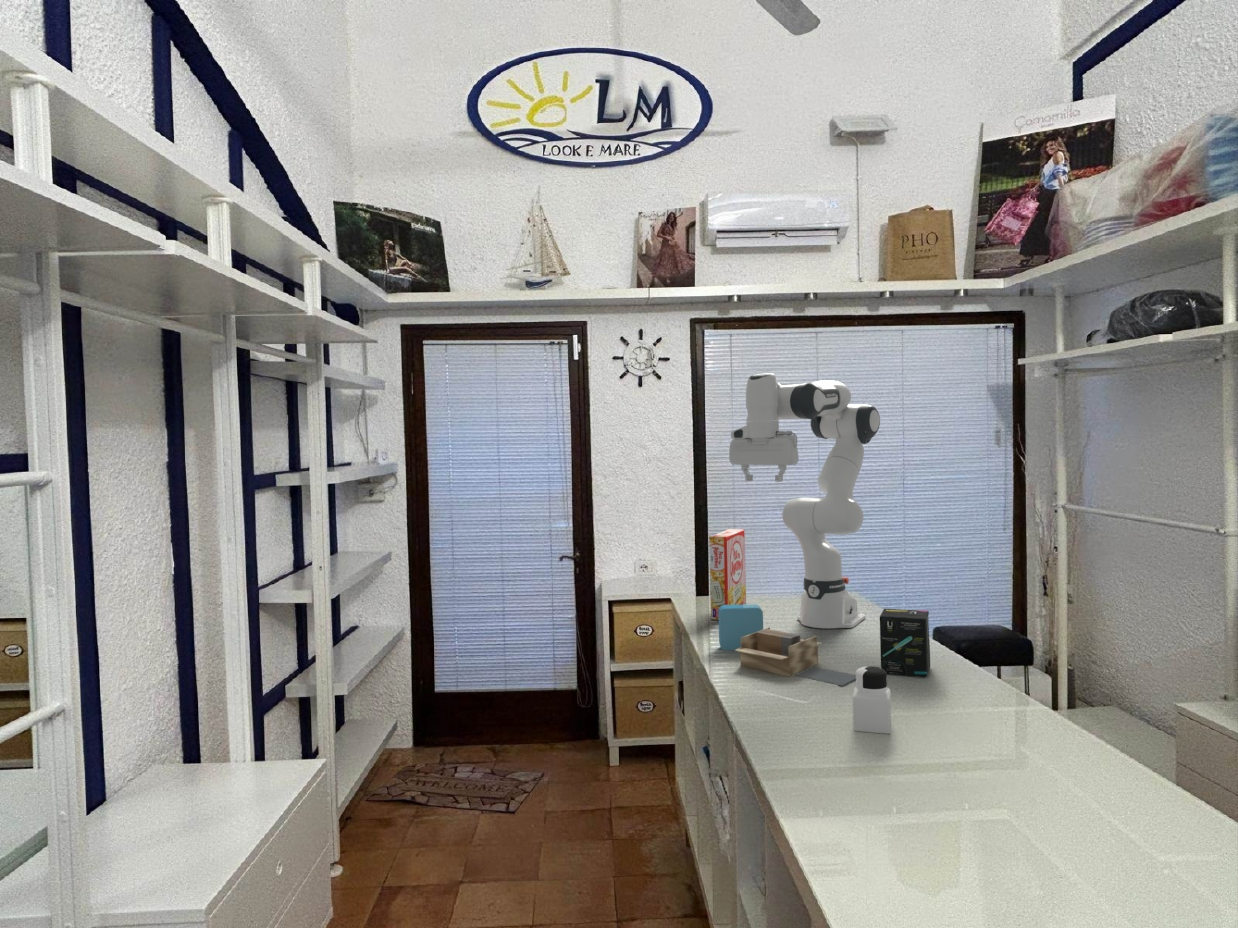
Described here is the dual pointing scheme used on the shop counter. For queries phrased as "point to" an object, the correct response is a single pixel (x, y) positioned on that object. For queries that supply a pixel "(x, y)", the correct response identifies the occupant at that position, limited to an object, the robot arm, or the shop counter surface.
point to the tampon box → (905, 642)
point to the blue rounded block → (738, 624)
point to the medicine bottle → (871, 701)
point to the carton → (779, 656)
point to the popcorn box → (727, 569)
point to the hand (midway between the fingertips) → (763, 481)
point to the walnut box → (776, 641)
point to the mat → (827, 676)
